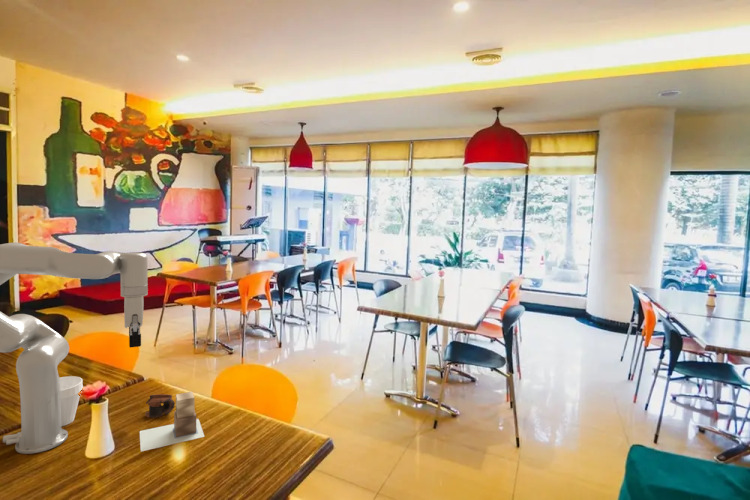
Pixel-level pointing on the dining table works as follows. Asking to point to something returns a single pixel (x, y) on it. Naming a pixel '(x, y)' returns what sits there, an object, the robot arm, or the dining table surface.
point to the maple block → (184, 404)
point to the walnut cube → (184, 425)
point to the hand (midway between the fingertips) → (134, 342)
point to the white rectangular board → (165, 436)
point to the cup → (69, 397)
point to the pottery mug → (159, 405)
